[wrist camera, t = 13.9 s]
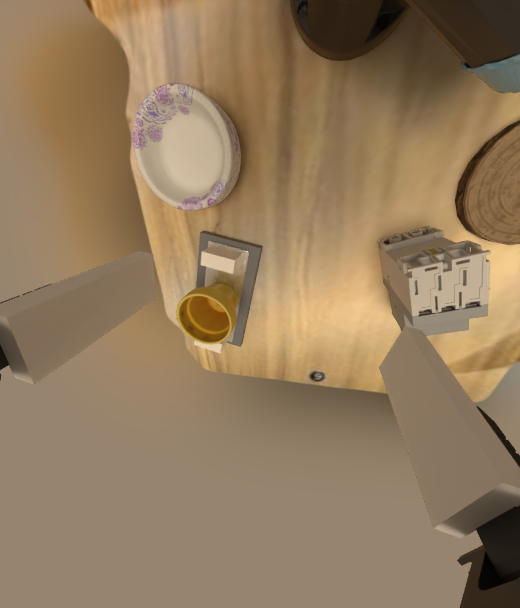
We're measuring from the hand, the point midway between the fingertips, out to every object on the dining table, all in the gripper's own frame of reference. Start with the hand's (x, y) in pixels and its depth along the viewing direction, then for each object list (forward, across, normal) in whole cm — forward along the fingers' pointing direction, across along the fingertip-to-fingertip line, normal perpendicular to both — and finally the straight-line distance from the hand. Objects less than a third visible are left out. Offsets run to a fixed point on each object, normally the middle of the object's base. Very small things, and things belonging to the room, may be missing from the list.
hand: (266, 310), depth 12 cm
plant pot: (+31, -12, -18) cm, 37 cm away
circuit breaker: (+33, +20, -4) cm, 39 cm away
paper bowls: (+33, -19, +6) cm, 39 cm away
